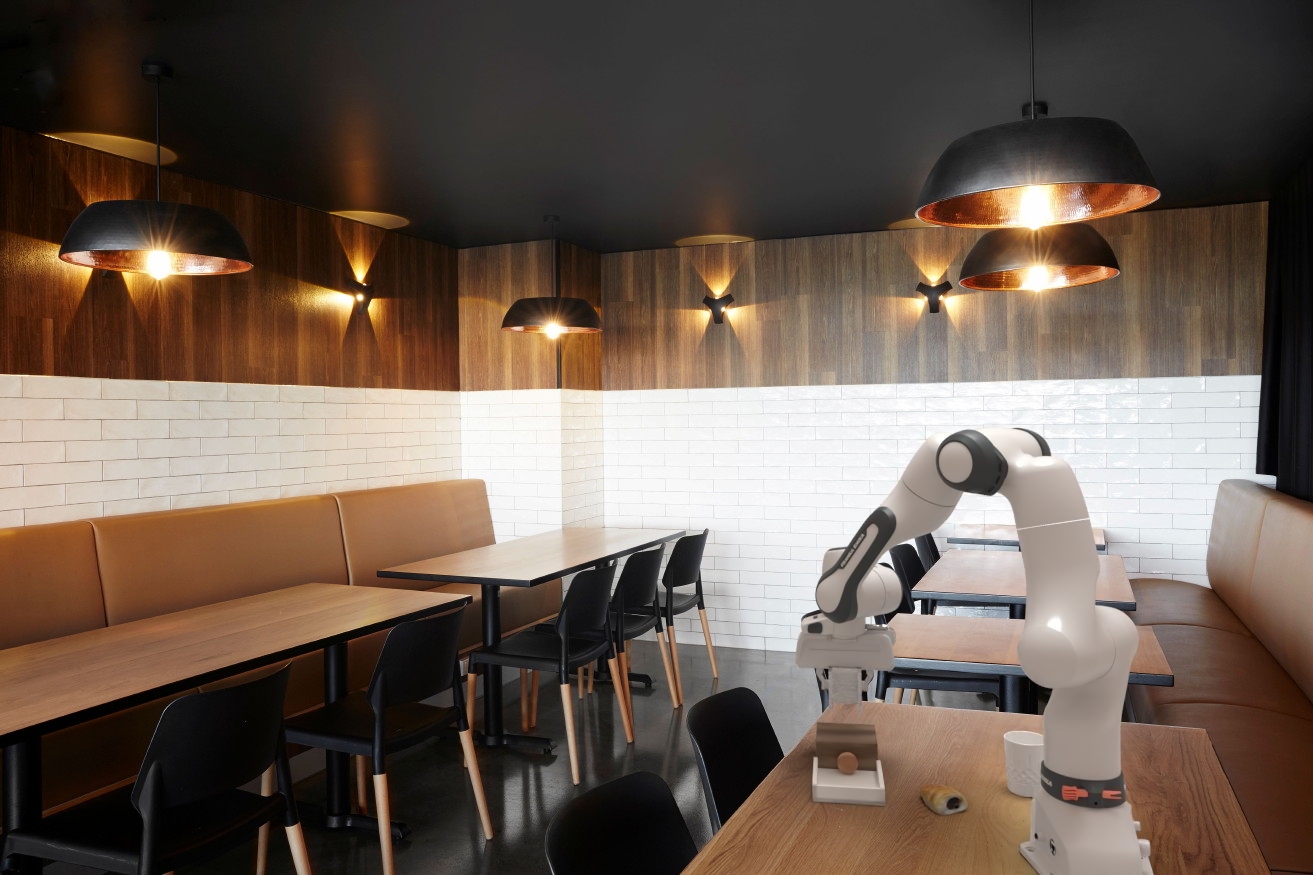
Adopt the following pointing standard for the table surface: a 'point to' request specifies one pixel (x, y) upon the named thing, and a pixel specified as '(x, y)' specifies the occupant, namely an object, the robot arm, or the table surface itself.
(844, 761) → the ball
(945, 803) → the pastry
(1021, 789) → the white cup
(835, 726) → the step block
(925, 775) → the table surface
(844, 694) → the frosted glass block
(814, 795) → the tray
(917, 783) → the table surface
